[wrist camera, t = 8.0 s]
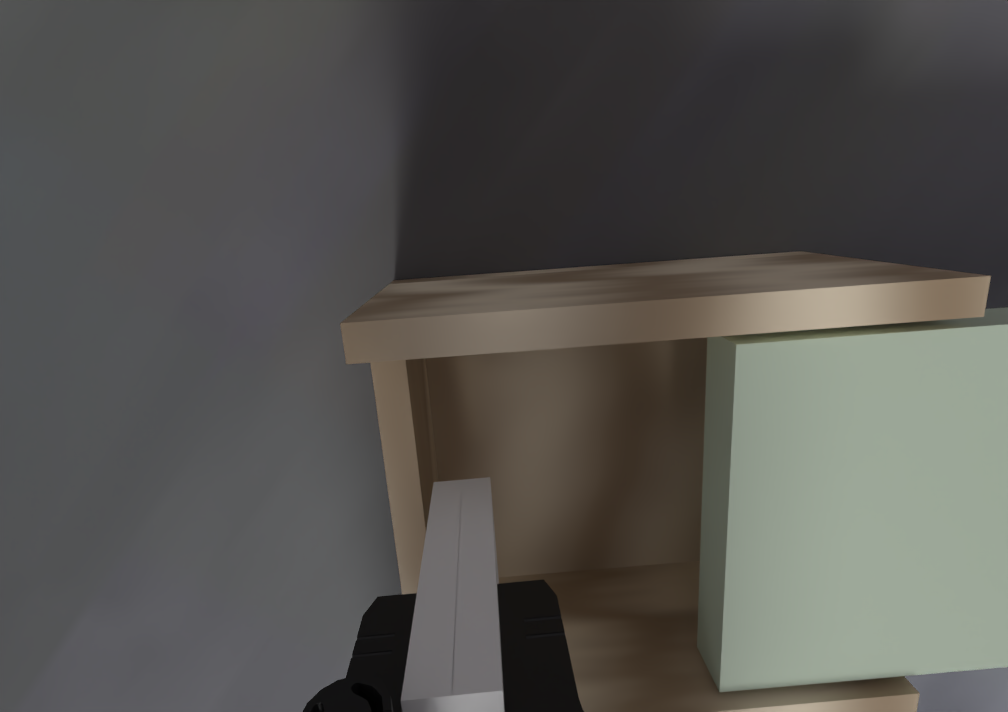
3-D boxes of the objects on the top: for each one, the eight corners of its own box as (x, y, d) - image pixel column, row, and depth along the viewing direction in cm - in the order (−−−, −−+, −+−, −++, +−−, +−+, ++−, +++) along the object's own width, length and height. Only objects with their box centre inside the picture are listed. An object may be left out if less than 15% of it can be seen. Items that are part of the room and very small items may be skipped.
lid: (696, 646, 16) (733, 718, 14) (707, 329, 14) (753, 353, 11) (1148, 607, 17) (1257, 672, 14) (1243, 289, 14) (1393, 305, 12)
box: (430, 586, 22) (406, 765, 15) (394, 280, 18) (340, 323, 11) (777, 557, 22) (915, 719, 15) (800, 251, 19) (990, 275, 12)
